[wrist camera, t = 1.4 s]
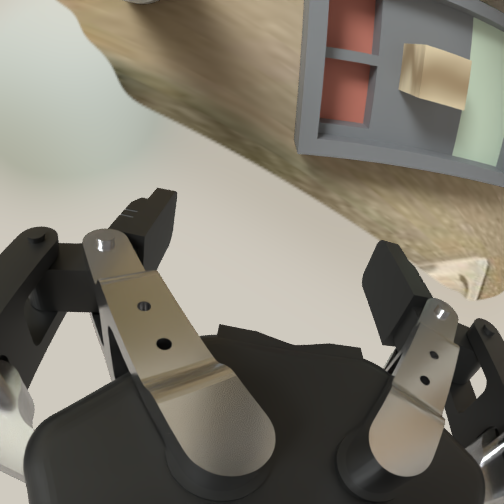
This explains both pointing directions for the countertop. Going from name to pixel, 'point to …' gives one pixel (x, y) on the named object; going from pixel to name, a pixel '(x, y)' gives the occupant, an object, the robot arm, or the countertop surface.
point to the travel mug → (141, 1)
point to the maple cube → (435, 75)
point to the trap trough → (387, 84)
